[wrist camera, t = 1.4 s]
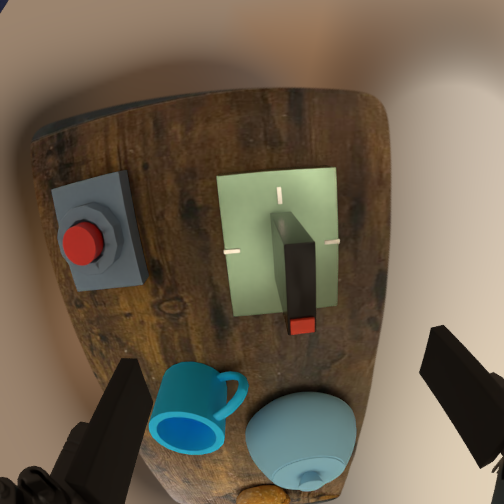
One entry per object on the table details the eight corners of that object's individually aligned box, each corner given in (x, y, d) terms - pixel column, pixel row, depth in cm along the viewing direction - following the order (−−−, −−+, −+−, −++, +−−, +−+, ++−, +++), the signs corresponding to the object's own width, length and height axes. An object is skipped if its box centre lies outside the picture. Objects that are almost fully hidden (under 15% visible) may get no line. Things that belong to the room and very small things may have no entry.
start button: (67, 225, 24) (58, 229, 23) (98, 218, 24) (90, 223, 23) (77, 261, 26) (68, 267, 24) (107, 256, 25) (100, 263, 24)
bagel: (270, 504, 48) (271, 521, 43) (226, 494, 45) (225, 513, 41) (300, 488, 45) (303, 507, 41) (255, 478, 43) (256, 499, 39)
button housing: (62, 186, 27) (41, 192, 23) (127, 169, 27) (110, 172, 23) (86, 283, 30) (69, 299, 26) (149, 276, 30) (137, 293, 26)
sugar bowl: (289, 458, 41) (297, 515, 30) (222, 421, 37) (219, 490, 26) (367, 413, 38) (391, 472, 27) (310, 365, 34) (331, 439, 23)
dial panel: (218, 173, 27) (214, 176, 24) (327, 165, 27) (337, 167, 24) (233, 302, 31) (232, 317, 28) (330, 292, 31) (338, 306, 28)
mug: (191, 414, 37) (183, 460, 29) (149, 376, 34) (133, 423, 27) (265, 380, 35) (270, 431, 27) (225, 336, 32) (222, 386, 25)
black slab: (269, 213, 25) (284, 246, 16) (291, 211, 25) (316, 243, 16) (274, 279, 27) (288, 337, 18) (294, 277, 27) (316, 334, 18)
